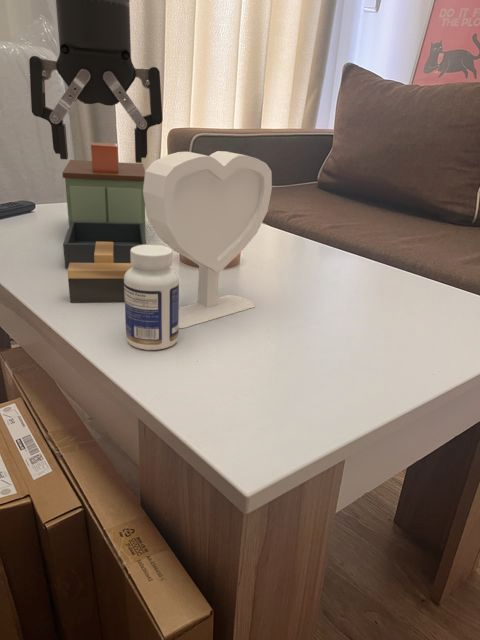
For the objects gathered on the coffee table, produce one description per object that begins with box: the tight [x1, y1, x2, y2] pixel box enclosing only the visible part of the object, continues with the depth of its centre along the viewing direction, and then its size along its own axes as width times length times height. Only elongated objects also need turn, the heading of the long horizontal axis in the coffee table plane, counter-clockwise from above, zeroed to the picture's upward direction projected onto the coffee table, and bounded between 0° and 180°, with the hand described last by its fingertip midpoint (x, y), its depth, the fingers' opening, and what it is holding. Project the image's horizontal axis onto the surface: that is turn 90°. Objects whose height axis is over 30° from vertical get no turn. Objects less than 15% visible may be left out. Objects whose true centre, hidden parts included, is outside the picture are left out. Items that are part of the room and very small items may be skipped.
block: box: [90, 141, 119, 173], centre depth 84 cm, size 4×4×4 cm
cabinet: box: [62, 159, 147, 238], centre depth 90 cm, size 13×15×11 cm
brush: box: [66, 242, 133, 303], centre depth 66 cm, size 9×8×5 cm
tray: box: [62, 221, 148, 270], centre depth 79 cm, size 11×13×4 cm
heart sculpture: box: [143, 150, 273, 329], centre depth 60 cm, size 16×5×18 cm, turn 136°
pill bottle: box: [124, 244, 180, 351], centre depth 53 cm, size 5×5×10 cm
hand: (101, 160), depth 63 cm, fingers open, 8 cm apart
